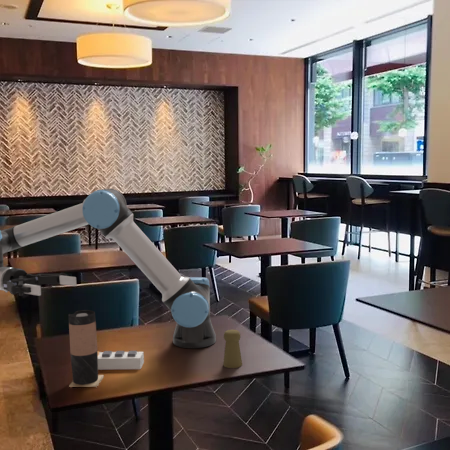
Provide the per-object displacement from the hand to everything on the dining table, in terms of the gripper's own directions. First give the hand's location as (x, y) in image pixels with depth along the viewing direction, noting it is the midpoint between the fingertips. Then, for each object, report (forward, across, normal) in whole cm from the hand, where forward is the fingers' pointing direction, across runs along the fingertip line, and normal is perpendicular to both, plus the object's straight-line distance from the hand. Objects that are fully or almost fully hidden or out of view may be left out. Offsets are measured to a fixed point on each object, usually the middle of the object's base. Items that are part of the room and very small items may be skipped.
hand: (58, 286), depth 168 cm
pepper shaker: (+40, -32, -28) cm, 59 cm away
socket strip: (+8, -14, -28) cm, 32 cm away
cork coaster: (+10, 0, -28) cm, 29 cm away
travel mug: (+9, 0, -27) cm, 29 cm away
